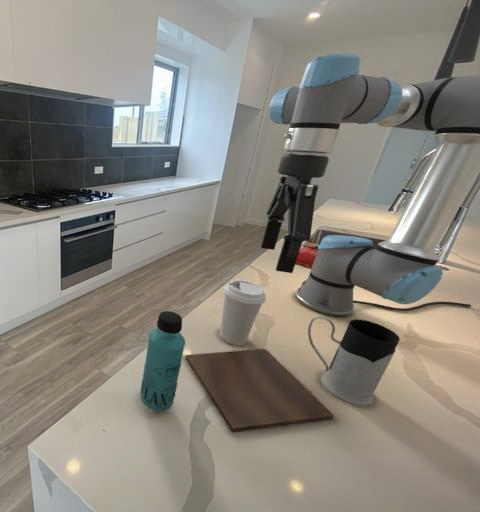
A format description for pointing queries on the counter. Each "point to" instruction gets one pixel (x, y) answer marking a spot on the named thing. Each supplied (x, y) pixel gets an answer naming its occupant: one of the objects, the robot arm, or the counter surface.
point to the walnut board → (255, 390)
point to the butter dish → (307, 256)
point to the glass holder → (358, 360)
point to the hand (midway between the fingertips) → (274, 259)
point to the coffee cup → (240, 310)
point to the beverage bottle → (163, 362)
